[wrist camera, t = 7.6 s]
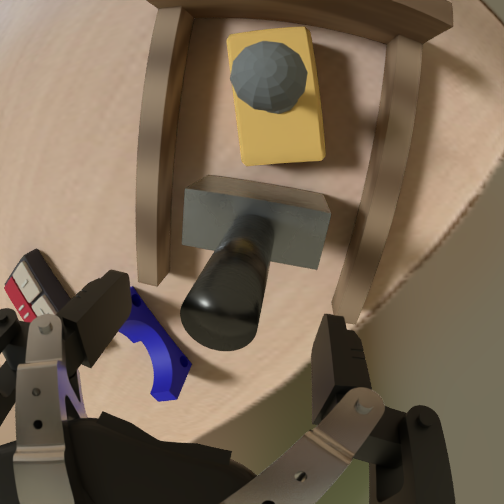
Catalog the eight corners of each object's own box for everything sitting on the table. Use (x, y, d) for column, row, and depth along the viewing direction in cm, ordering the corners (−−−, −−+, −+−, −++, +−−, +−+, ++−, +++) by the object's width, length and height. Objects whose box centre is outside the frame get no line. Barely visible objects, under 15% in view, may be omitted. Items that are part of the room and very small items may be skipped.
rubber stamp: (321, 156, 22) (349, 183, 11) (249, 161, 23) (207, 194, 12) (307, 40, 18) (317, -34, 7) (235, 47, 19) (182, -15, 8)
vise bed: (176, 1, 17) (133, -35, 10) (409, 33, 15) (452, 3, 8) (151, 267, 28) (111, 312, 21) (350, 305, 26) (364, 364, 19)
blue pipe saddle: (109, 297, 31) (82, 326, 25) (133, 285, 29) (105, 316, 24) (166, 368, 34) (149, 402, 29) (192, 363, 33) (177, 399, 28)
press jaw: (208, 174, 23) (104, 239, 10) (322, 194, 22) (360, 289, 9) (204, 220, 25) (115, 322, 12) (312, 239, 24) (327, 369, 11)
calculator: (19, 256, 27) (85, 354, 30) (41, 244, 31) (102, 336, 34) (0, 287, 30) (55, 367, 34) (18, 275, 34) (69, 351, 38)
